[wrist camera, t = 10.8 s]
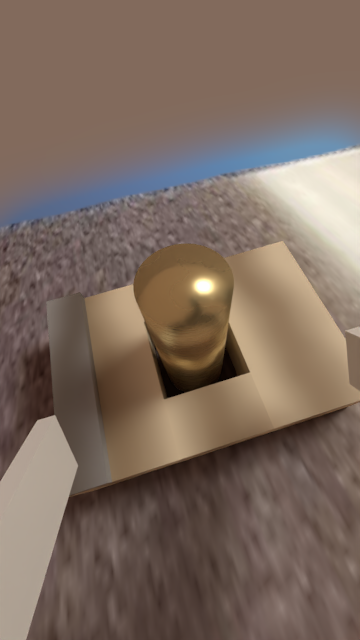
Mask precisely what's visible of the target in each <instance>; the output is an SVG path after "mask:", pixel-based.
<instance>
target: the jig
mask: <svg viewBox="0 0 360 640" xmlns="http://www.w3.org/2000/svg"><path fill="white" fill-rule="evenodd" d="M224 259H225V260H226V262H227V263H228V264H229V266H230V268H231V270H232V273H233V277H234V289H233V296H232V303H231V310H230V317H229V323H228V330H227V337H226V344H225V346H226V349H227V351H228V353H229V356H230V358H231V361H232V363H233V366H234V368H235V371H236V373H237V377H234V378H231V379H228V380H224V381H221V382H218V383H215V384H212V385H209V386H205V387H202V388H199V389H196V390H193V391H190V392H186V393H183V394H180V395H177V396H174V397H171V398H168V397H167V393H166V389H165V385H164V382H163V378H162V374H161V370H160V367H159V363H158V359H157V356H156V352H155V348H154V342H153V339H152V337H151V335H150V332H149V330H148V328H147V325H146V323H145V321H144V318H143V316H142V314H141V311H140V309H139V307H138V304H137V302H136V299H135V297H134V291H133V284H132V285H129V286H125V287H122V288H119V289H115V290H112V291H108V292H105V293H101V294H98V295H94V296H91V297H87V298H84V297H83V296H82V294H81V293H80V292H79V293H76V294H72V295H69V296H65V297H62V298H58V299H55V300H51V301H48V302H46V304H47V318H48V332H49V347H50V361H51V375H52V389H53V403H54V415H55V416H56V418H57V420H58V423H59V425H60V427H61V429H62V431H63V433H64V436H65V438H66V440H67V442H68V444H69V447H70V449H71V451H72V453H73V455H74V458H75V460H76V462H77V464H78V467H77V471H76V474H75V478H74V481H73V484H72V488H71V491H70V494H69V497H70V496H74V495H79V494H83V493H87V492H91V491H94V490H97V489H100V488H103V487H106V486H110V485H113V484H116V483H119V482H122V481H125V480H128V479H131V478H134V477H137V476H140V475H143V474H146V473H149V472H152V471H155V470H158V469H161V468H164V467H167V466H170V465H173V464H176V463H179V462H182V461H185V460H188V459H191V458H194V457H197V456H200V455H203V454H206V453H209V452H212V451H216V450H219V449H222V448H225V447H228V446H231V445H234V444H237V443H240V442H243V441H246V440H249V439H252V438H255V437H258V436H261V435H264V434H267V433H270V432H273V431H276V430H279V429H282V428H285V427H288V426H291V425H294V424H297V423H300V422H303V421H306V420H309V419H312V418H315V417H318V416H321V415H325V414H328V413H331V412H334V411H337V410H340V409H343V408H346V407H349V406H351V405H354V404H356V403H358V402H360V391H359V390H357V389H356V388H355V387H353V386H352V385H350V384H349V372H348V359H347V346H346V339H345V338H344V336H343V335H342V333H341V331H340V330H339V328H338V327H337V325H336V324H335V322H334V320H333V319H332V317H331V316H330V314H329V313H328V311H327V309H326V308H325V306H324V305H323V303H322V302H321V300H320V298H319V297H318V295H317V294H316V292H315V291H314V289H313V287H312V286H311V284H310V283H309V281H308V280H307V278H306V276H305V275H304V273H303V272H302V270H301V269H300V267H299V265H298V264H297V262H296V261H295V259H294V258H293V256H292V254H291V253H290V251H289V250H288V248H287V247H286V245H285V243H284V242H283V241H281V242H278V243H274V244H271V245H267V246H264V247H261V248H257V249H254V250H250V251H247V252H243V253H240V254H236V255H233V256H229V257H226V258H224Z"/></svg>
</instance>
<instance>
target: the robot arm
mask: <svg viewBox="0 0 360 640" xmlns="http://www.w3.org/2000/svg"><path fill="white" fill-rule="evenodd" d="M345 334H346V346H347V359H348V372H349V384H350V385H352V386H353V387H355V388H356V389H357V390H359V391H360V327H356V328H353V329H350V330H346V331H345ZM77 467H78V464H77V462H76V460H75V458H74V455H73V453H72V451H71V449H70V447H69V444H68V442H67V440H66V438H65V436H64V433H63V431H62V429H61V427H60V425H59V423H58V420H57V418H56V416H55V415H54V416H50V417H47V418H43V419H40V420H37V422H36V423H35V425H34V427H33V428H32V430H31V432H30V433H29V435H28V436H27V438H26V440H25V441H24V443H23V445H22V446H21V448H20V450H19V451H18V453H17V455H16V456H15V458H14V460H13V461H12V463H11V465H10V466H9V468H8V470H7V471H6V473H5V475H4V476H3V478H2V480H1V481H0V640H26V638H27V635H28V631H29V628H30V625H31V621H32V618H33V615H34V611H35V608H36V605H37V601H38V598H39V595H40V591H41V588H42V585H43V581H44V578H45V574H46V571H47V568H48V564H49V561H50V558H51V554H52V551H53V548H54V544H55V541H56V538H57V534H58V531H59V528H60V524H61V521H62V518H63V514H64V511H65V508H66V504H67V501H68V498H69V494H70V491H71V488H72V484H73V481H74V478H75V474H76V471H77Z"/></svg>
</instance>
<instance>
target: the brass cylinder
mask: <svg viewBox="0 0 360 640" xmlns="http://www.w3.org/2000/svg"><path fill="white" fill-rule="evenodd" d="M233 289H234V277H233V273H232V270H231V268H230V266H229V264H228V263H227V262H226V260H225V259H224V258H223V257H222V256H221V255H220V254H218V253H217V252H215V251H214V250H212V249H210V248H207V247H205V246H201V245H196V244H177V245H172V246H168V247H165V248H163V249H161V250H158V251H157V252H155V253H153V254H152V255H151V256H149V257H148V258H147V259H146V260H145V261H144V262H143V263H142V265H141V266H140V267H139V269H138V271H137V273H136V275H135V279H134V284H133V291H134V297H135V299H136V302H137V304H138V307H139V309H140V311H141V314H142V316H143V318H144V321H145V323H146V325H147V328H148V330H149V332H150V335H151V337H152V339H153V342H154V344H155V346H156V349H157V351H158V353H159V356H160V358H161V360H162V363H163V365H164V367H165V370H166V372H167V374H168V377H169V379H170V381H171V382H172V384H173V385H174V386H175V387H176V388H178V389H179V390H181V391H183V392H190V391H193V390H196V389H199V388H202V387H205V386H209V385H212V384H215V383H217V382H218V380H219V378H220V375H221V371H222V364H223V358H224V351H225V344H226V337H227V330H228V323H229V317H230V310H231V303H232V296H233Z"/></svg>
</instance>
